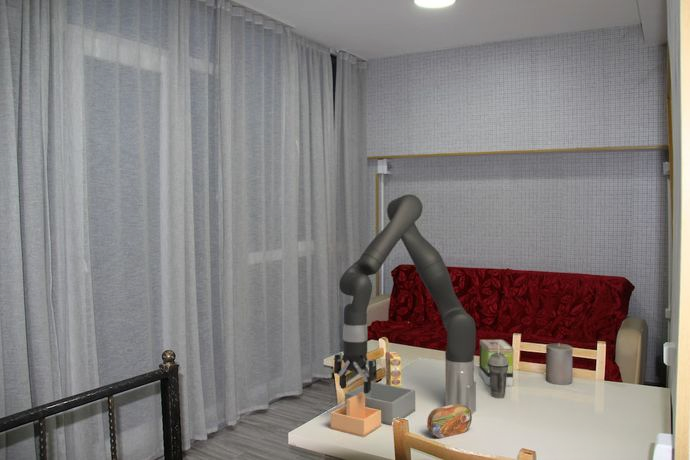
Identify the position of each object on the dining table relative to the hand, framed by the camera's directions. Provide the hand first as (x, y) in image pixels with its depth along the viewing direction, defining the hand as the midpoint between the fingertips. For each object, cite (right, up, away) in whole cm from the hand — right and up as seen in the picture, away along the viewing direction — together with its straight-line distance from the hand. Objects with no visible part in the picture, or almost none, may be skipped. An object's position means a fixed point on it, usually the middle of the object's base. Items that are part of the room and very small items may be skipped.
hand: (354, 390), depth 175 cm
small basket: (0, -11, 0) cm, 11 cm away
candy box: (+14, -11, +28) cm, 33 cm away
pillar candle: (+80, -10, +45) cm, 93 cm away
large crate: (+9, -11, +13) cm, 19 cm away
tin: (+28, -12, -5) cm, 31 cm away
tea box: (+56, -10, +47) cm, 74 cm away
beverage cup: (+52, -10, +28) cm, 60 cm away
